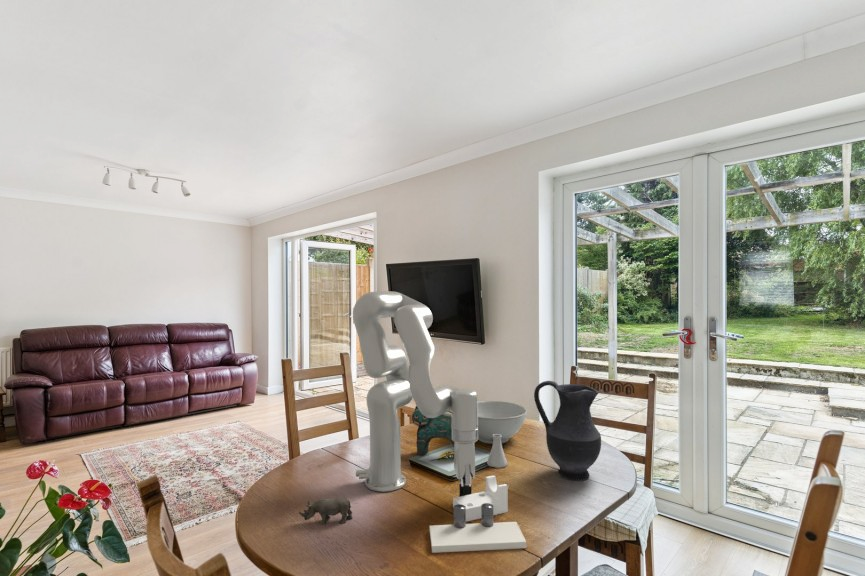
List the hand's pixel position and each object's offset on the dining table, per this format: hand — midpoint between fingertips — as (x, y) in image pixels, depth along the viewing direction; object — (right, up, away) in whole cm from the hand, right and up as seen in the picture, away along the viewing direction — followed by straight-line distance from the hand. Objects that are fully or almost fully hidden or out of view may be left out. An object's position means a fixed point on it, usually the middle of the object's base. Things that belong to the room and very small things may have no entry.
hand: (465, 498), depth 126 cm
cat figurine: (-7, -2, +37) cm, 37 cm away
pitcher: (+35, -1, +19) cm, 40 cm away
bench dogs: (+1, -1, -15) cm, 15 cm away
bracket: (+4, -2, -5) cm, 6 cm away
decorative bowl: (+15, -2, +54) cm, 56 cm away
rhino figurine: (-37, -2, -9) cm, 38 cm away
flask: (+13, -2, +28) cm, 31 cm away
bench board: (+1, -1, -19) cm, 19 cm away
